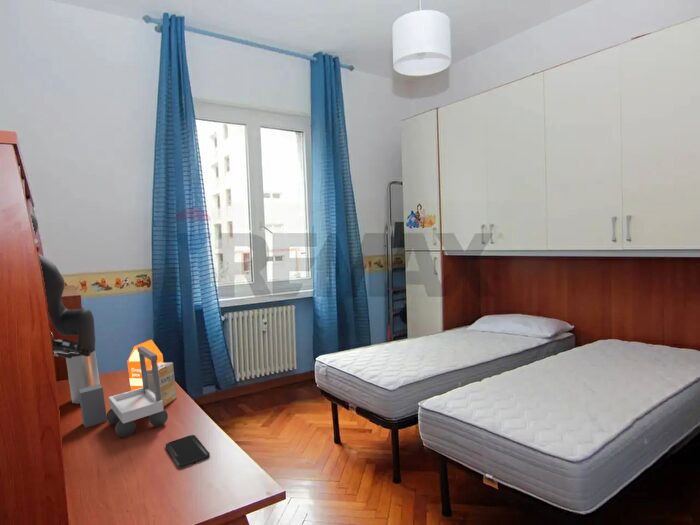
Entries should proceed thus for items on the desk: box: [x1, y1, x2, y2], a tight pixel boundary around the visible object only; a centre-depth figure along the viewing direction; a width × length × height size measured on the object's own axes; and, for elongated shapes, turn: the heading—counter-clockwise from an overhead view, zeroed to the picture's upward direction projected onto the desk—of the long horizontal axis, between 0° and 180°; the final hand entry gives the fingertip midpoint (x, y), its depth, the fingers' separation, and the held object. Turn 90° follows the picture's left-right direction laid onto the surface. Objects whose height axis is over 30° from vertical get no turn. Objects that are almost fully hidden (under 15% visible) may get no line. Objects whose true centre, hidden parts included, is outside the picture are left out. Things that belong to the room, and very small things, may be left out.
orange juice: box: [127, 339, 164, 391], centre depth 154 cm, size 8×9×20 cm
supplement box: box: [147, 362, 177, 408], centre depth 148 cm, size 8×5×13 cm, turn 168°
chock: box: [78, 383, 108, 428], centre depth 136 cm, size 4×6×11 cm
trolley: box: [106, 346, 169, 439], centre depth 132 cm, size 18×14×22 cm
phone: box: [165, 434, 211, 469], centre depth 113 cm, size 8×1×15 cm
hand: (80, 354), depth 136 cm, fingers open, 8 cm apart
